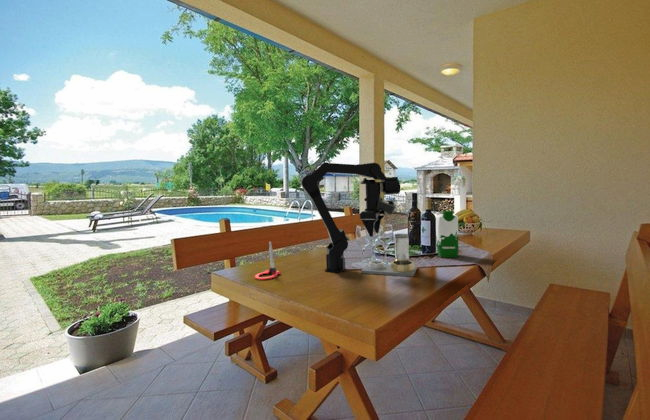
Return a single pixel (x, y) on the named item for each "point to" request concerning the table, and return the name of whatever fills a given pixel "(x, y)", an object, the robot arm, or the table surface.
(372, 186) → the robot arm
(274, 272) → the tow hook
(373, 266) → the narrow aluminium socket
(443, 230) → the milk carton
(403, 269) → the wide brass socket
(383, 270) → the fitting board
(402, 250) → the disc
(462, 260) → the table surface
